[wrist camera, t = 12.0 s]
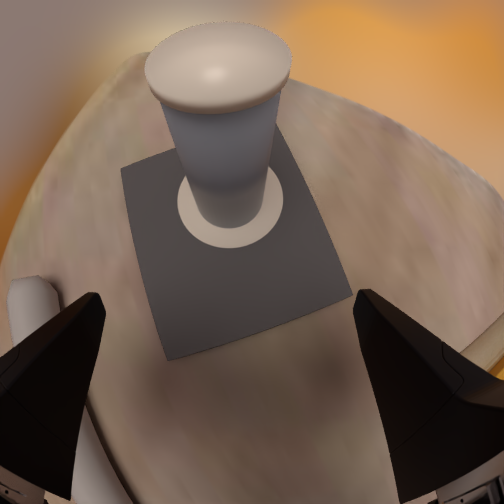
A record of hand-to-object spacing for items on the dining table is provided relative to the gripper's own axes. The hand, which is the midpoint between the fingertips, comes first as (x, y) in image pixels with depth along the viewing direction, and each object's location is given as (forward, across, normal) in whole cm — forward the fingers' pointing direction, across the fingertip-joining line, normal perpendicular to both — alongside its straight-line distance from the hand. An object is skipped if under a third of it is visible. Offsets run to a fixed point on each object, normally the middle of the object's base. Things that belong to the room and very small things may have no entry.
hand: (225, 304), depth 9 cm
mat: (+12, +1, +3) cm, 13 cm away
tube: (+1, +14, +15) cm, 20 cm away
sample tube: (+13, 0, +1) cm, 13 cm away
